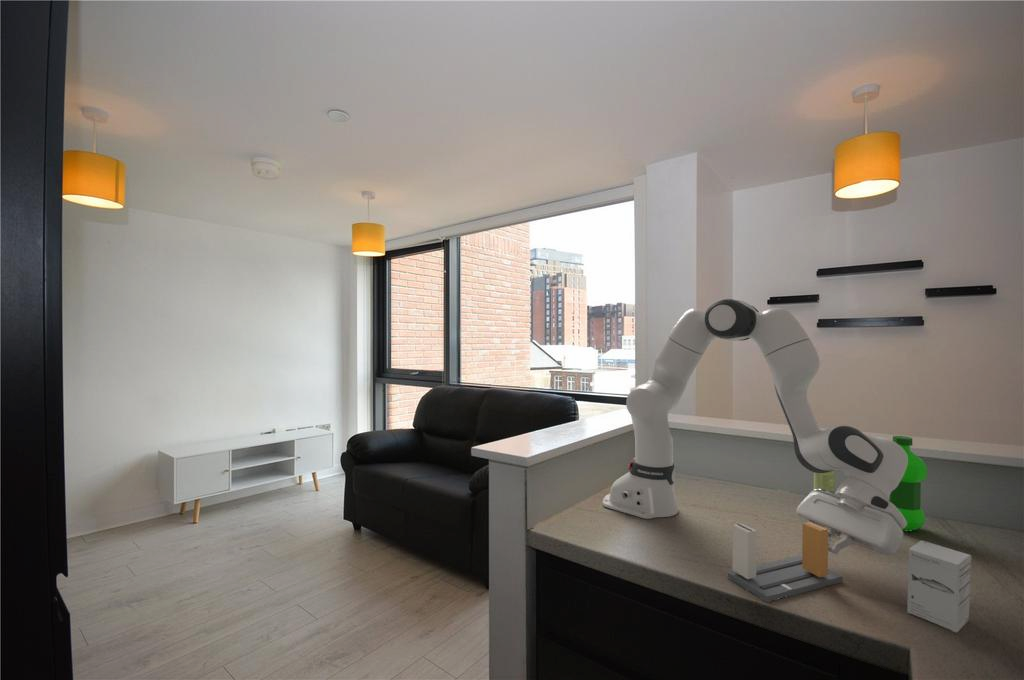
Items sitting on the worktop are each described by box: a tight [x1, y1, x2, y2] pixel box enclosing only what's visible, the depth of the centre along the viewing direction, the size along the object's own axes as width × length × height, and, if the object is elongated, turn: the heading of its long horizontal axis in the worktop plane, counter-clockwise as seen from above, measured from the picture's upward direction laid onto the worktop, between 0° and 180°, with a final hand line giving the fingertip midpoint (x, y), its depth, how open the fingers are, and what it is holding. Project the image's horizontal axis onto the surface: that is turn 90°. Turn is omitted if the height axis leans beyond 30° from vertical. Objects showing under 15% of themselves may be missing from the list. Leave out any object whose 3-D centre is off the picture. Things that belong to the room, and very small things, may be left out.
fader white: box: [732, 523, 758, 579], centre depth 99 cm, size 2×4×10 cm, turn 20°
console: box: [727, 554, 844, 603], centre depth 100 cm, size 22×10×1 cm, turn 110°
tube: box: [813, 470, 836, 493], centre depth 129 cm, size 6×5×20 cm
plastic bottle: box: [889, 435, 928, 532], centre depth 126 cm, size 10×10×25 cm
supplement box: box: [906, 540, 972, 633], centre depth 87 cm, size 7×7×13 cm
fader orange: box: [801, 522, 829, 577], centre depth 100 cm, size 2×4×10 cm, turn 20°
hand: (828, 550), depth 101 cm, fingers closed
